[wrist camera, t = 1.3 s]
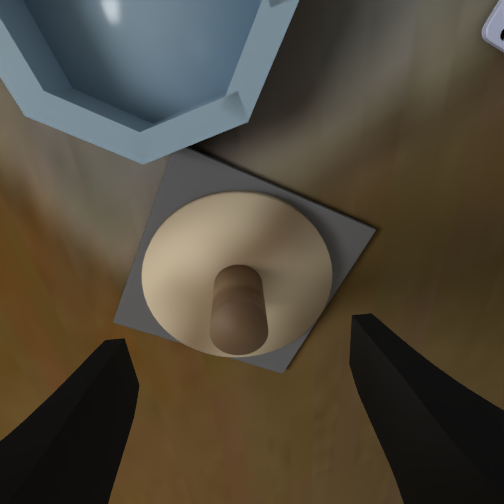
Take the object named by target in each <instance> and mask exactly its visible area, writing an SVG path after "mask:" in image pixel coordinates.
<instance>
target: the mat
mask: <svg viewBox="0 0 504 504" xmlns="http://www.w3.org/2000/svg"><path fill="white" fill-rule="evenodd" d="M225 190H250V191H256V192H261V193H266V194H269V195H272V196H275V197H277V198H280V199H282V200H284V201H286V202H288V203H290V204H291V205H292V206H294V207H295V208H297V209H298V210H300V211H301V212H302V213H303V214H304V215H305V216H306V217H307V218H308V219H309V220H310V221H311V222H312V223H313V225H314V226H315V227H316V229H317V230H318V232H319V234H320V235H321V237H322V239H323V241H324V243H325V245H326V247H327V250H328V252H329V255H330V260H331V264H332V286H331V290H330V295H329V298H328V300H327V303H326V306H327V305H328V303H329V302H330V300H331V299H332V297H333V295H334V294H335V292H336V291H337V289H338V288H339V286H340V285H341V283H342V282H343V280H344V279H345V277H346V275H347V274H348V272H349V271H350V269H351V268H352V266H353V265H354V263H355V262H356V260H357V259H358V257H359V255H360V254H361V252H362V251H363V249H364V248H365V246H366V245H367V243H368V242H369V240H370V239H371V237H372V236H373V234H374V232H375V231H376V230H375V228H374V227H372V226H369V225H367V224H365V223H362V222H360V221H358V220H356V219H353V218H351V217H349V216H346V215H344V214H342V213H339V212H337V211H335V210H332V209H330V208H328V207H326V206H323V205H321V204H319V203H316V202H314V201H312V200H309V199H307V198H305V197H303V196H300V195H298V194H296V193H293V192H291V191H289V190H286V189H284V188H282V187H280V186H277V185H275V184H273V183H270V182H268V181H266V180H263V179H261V178H259V177H256V176H254V175H252V174H250V173H247V172H245V171H243V170H240V169H238V168H236V167H233V166H231V165H229V164H227V163H224V162H222V161H220V160H217V159H215V158H213V157H210V156H208V155H206V154H204V153H201V152H199V151H197V150H194V149H192V148H190V147H185V148H183V149H180V150H178V151H175V152H173V153H171V155H170V158H169V160H168V163H167V166H166V169H165V172H164V175H163V178H162V181H161V184H160V187H159V190H158V192H157V195H156V198H155V201H154V204H153V207H152V210H151V213H150V216H149V219H148V222H147V225H146V227H145V230H144V233H143V236H142V239H141V242H140V245H139V248H138V251H137V254H136V257H135V260H134V262H133V265H132V268H131V271H130V274H129V277H128V280H127V283H126V286H125V289H124V292H123V295H122V297H121V300H120V303H119V306H118V309H117V312H116V315H115V318H114V321H113V323H116V324H120V325H123V326H126V327H130V328H133V329H136V330H140V331H143V332H146V333H150V334H153V335H156V336H160V337H163V338H166V339H169V340H173V341H176V342H179V343H182V342H180V341H178V340H177V339H175V338H174V337H173V336H172V335H170V334H169V333H168V332H167V331H166V330H165V329H164V328H163V327H162V326H161V325H160V324H159V323H158V321H157V320H156V319H155V317H154V316H153V314H152V312H151V311H150V309H149V307H148V305H147V302H146V299H145V297H144V292H143V287H142V266H143V261H144V257H145V253H146V251H147V249H148V246H149V244H150V242H151V240H152V238H153V236H154V234H155V233H156V231H157V230H158V228H159V227H160V225H161V224H162V223H163V222H164V221H165V220H166V218H167V217H168V216H170V215H171V214H172V213H173V212H174V211H175V210H177V209H178V208H180V207H181V206H183V205H184V204H186V203H187V202H189V201H192V200H194V199H196V198H198V197H200V196H204V195H207V194H210V193H214V192H219V191H225ZM326 306H325V307H324V309H325V308H326ZM324 309H323V311H324ZM323 311H322V312H323ZM321 314H322V313H321ZM319 317H320V316H319ZM319 317H318V319H319ZM318 319H317V320H318ZM317 320H316V321H315V323H316V322H317ZM315 323H314V324H313V325H312V326H311V327H310V328H309V329H308V330H307V331H306V332H305V333H304V334H302V335H301V336H300V337H299V338H297V339H296V340H294V341H293V342H291V343H289V344H287V345H285V346H283V347H281V348H279V349H277V350H274V351H271V352H268V353H265V354H261V355H256V356H249V357H229V358H232V359H236V360H239V361H242V362H246V363H249V364H252V365H256V366H259V367H262V368H266V369H269V370H272V371H275V372H279V373H282V374H283V372H284V371H285V369H286V368H287V366H288V365H289V363H290V362H291V360H292V359H293V357H294V355H295V354H296V352H297V351H298V349H299V348H300V346H301V345H302V343H303V342H304V340H305V339H306V337H307V335H308V334H309V332H310V331H311V329H312V328H313V326H314V325H315Z"/></svg>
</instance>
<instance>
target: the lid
mask: <svg viewBox="0 0 504 504" xmlns="http://www.w3.org/2000/svg"><path fill="white" fill-rule="evenodd" d="M331 286H332V264H331V260H330V255H329V252H328V250H327V247H326V245H325V243H324V241H323V239H322V237H321V235H320V234H319V232H318V230H317V229H316V227H315V226H314V225H313V223H312V222H311V221H310V220H309V219H308V218H307V217H306V216H305V215H304V214H303V213H302V212H301V211H300V210H298V209H297V208H295V207H294V206H292V205H291V204H290V203H288V202H286V201H284V200H282V199H280V198H277V197H275V196H272V195H269V194H266V193H261V192H256V191H250V190H225V191H219V192H214V193H210V194H207V195H204V196H200V197H198V198H196V199H194V200H192V201H189V202H187V203H186V204H184V205H183V206H181V207H180V208H178V209H177V210H175V211H174V212H173V213H172V214H171V215H170V216H168V217H167V218H166V220H165V221H164V222H163V223H162V224H161V225H160V227H159V228H158V230H157V231H156V233H155V234H154V236H153V238H152V240H151V242H150V244H149V246H148V249H147V251H146V253H145V257H144V261H143V266H142V287H143V292H144V297H145V299H146V302H147V305H148V307H149V309H150V311H151V312H152V314H153V316H154V317H155V319H156V320H157V321H158V323H159V324H160V325H161V326H162V327H163V328H164V329H165V330H166V331H167V332H168V333H169V334H170V335H172V336H173V337H174V338H175V339H177V340H178V341H180V342H182V343H183V344H185V345H187V346H189V347H191V348H193V349H195V350H198V351H201V352H204V353H208V354H212V355H216V356H223V357H249V356H256V355H261V354H265V353H268V352H271V351H274V350H277V349H279V348H281V347H283V346H285V345H287V344H289V343H291V342H293V341H294V340H296V339H297V338H299V337H300V336H301V335H302V334H304V333H305V332H306V331H307V330H308V329H309V328H310V327H311V326H312V325H313V324H314V323H315V321H316V320H317V319H318V317H319V316H320V315H321V313H322V311H323V309H324V307H325V306H326V303H327V300H328V298H329V295H330V290H331Z"/></svg>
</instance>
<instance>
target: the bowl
mask: <svg viewBox="0 0 504 504" xmlns="http://www.w3.org/2000/svg"><path fill="white" fill-rule="evenodd" d="M298 2H299V0H0V78H1V79H2V81H3V82H4V84H5V85H6V87H7V88H8V90H9V92H10V93H11V95H12V96H13V98H14V99H15V101H16V103H17V104H18V106H19V107H20V109H21V110H22V112H23V114H24V116H25V117H29V118H31V119H34V120H36V121H39V122H41V123H43V124H46V125H48V126H51V127H53V128H56V129H58V130H60V131H63V132H65V133H68V134H70V135H73V136H75V137H78V138H80V139H82V140H85V141H87V142H90V143H92V144H95V145H97V146H99V147H102V148H104V149H107V150H109V151H112V152H114V153H116V154H119V155H121V156H124V157H126V158H129V159H131V160H133V161H136V162H138V163H141V164H142V165H145V164H146V163H148V162H151V161H153V160H156V159H158V158H161V157H163V156H166V155H168V154H170V153H173V152H175V151H178V150H180V149H183V148H185V147H188V146H190V145H193V144H195V143H198V142H200V141H202V140H205V139H207V138H210V137H212V136H215V135H217V134H220V133H222V132H225V131H227V130H230V129H232V128H234V127H237V126H239V125H242V124H244V123H248V122H249V118H250V116H251V114H252V111H253V109H254V106H255V104H256V102H257V99H258V97H259V95H260V92H261V90H262V87H263V85H264V83H265V80H266V78H267V76H268V73H269V71H270V68H271V66H272V64H273V61H274V59H275V57H276V54H277V52H278V49H279V47H280V45H281V42H282V40H283V38H284V35H285V33H286V30H287V28H288V26H289V23H290V21H291V19H292V16H293V14H294V11H295V9H296V7H297V4H298Z"/></svg>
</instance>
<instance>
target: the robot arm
mask: <svg viewBox="0 0 504 504" xmlns="http://www.w3.org/2000/svg"><path fill="white" fill-rule="evenodd" d="M503 29H504V0H499V1H498V3H497V5H496V6H495V8H494V9H493V11H492V13H491V14H490V16H489V17H488V19H487V21H486V22H485V24H484V26H483V28H482V38H483V39H484V40H485V41H486V42H487V43H489V44H491V45H492V46H494V47H495V48H497V49H498V50H500V51H502V52H503V53H504V39H503V40H501V39H500V34H501V32H502V30H503ZM349 364H350V368H351V371H352V374H353V378H354V381H355V384H356V387H357V390H358V394H359V396H360V398H361V401H362V403H363V405H364V408H365V410H366V412H367V414H368V417H369V419H370V421H371V423H372V426H373V428H374V430H375V432H376V435H377V437H378V439H379V441H380V444H381V446H382V448H383V450H384V453H385V455H386V457H387V459H388V462H389V464H390V466H391V469H392V471H393V474H394V476H395V479H396V482H397V485H398V488H399V490H400V493H401V496H402V499H403V502H404V504H504V410H502V409H500V408H499V407H497V406H495V405H493V404H492V403H490V402H489V401H487V400H485V399H484V398H482V397H481V396H479V395H477V394H476V393H474V392H473V391H471V390H469V389H468V388H466V387H465V386H463V385H462V384H460V383H459V382H457V381H456V380H454V379H453V378H452V377H450V376H449V375H447V374H446V373H445V372H443V371H442V370H440V369H439V368H438V367H436V366H435V365H434V364H432V363H431V362H430V361H428V360H427V359H426V358H424V357H423V356H422V355H421V354H419V353H418V352H417V351H415V350H414V349H413V348H412V347H410V346H409V345H408V344H407V343H406V342H404V341H403V340H402V339H401V338H400V337H398V336H397V335H396V334H395V333H394V332H393V331H391V330H390V329H389V328H388V327H387V326H385V325H384V324H383V323H382V322H381V321H380V320H378V319H377V318H376V317H375V316H374V315H373V314H361V315H352V325H351V343H350V362H349ZM138 391H139V382H138V379H137V376H136V373H135V370H134V367H133V364H132V361H131V357H130V354H129V351H128V348H127V345H126V342H125V339H124V338H123V339H113V340H105V341H104V342H103V343H102V344H101V345H100V346H99V347H98V348H97V349H96V350H95V351H94V352H93V353H92V354H91V355H90V356H89V357H88V358H87V359H86V360H85V361H84V362H83V363H82V365H81V366H80V367H79V368H78V369H77V370H76V371H75V372H74V373H73V374H72V375H71V376H70V377H69V378H68V379H67V380H66V381H65V382H64V383H63V384H62V385H61V386H60V387H59V388H58V389H57V390H56V391H55V392H54V393H53V394H52V395H51V396H50V397H49V398H48V399H47V400H46V401H45V402H43V403H42V404H41V405H40V406H39V407H38V408H37V409H36V410H35V411H34V412H33V413H32V414H31V415H30V416H29V417H28V418H27V419H25V420H24V421H23V422H22V423H21V424H20V425H19V426H18V427H17V428H15V429H14V430H13V431H12V432H11V433H10V434H8V435H7V436H6V437H5V438H4V439H2V440H1V441H0V504H108V502H109V498H110V494H111V491H112V488H113V484H114V481H115V478H116V475H117V471H118V468H119V465H120V462H121V458H122V455H123V452H124V449H125V445H126V442H127V439H128V435H129V432H130V429H131V425H132V422H133V419H134V414H135V409H136V403H137V397H138Z"/></svg>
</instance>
